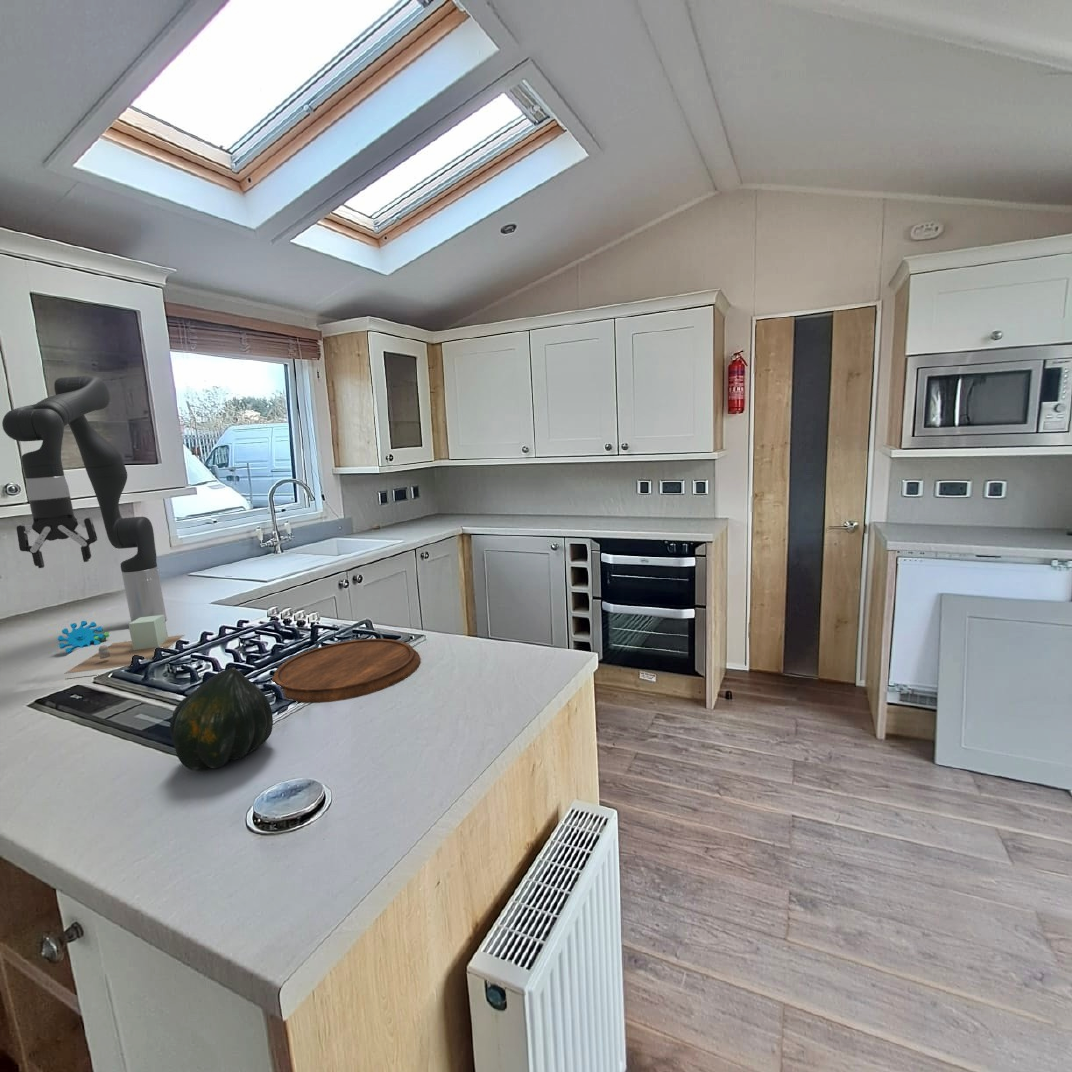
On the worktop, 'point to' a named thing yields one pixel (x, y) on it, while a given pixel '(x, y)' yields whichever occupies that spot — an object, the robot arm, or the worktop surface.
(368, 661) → the cutting board
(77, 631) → the gear
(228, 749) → the squash
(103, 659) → the board
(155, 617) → the pale green block
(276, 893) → the worktop surface
